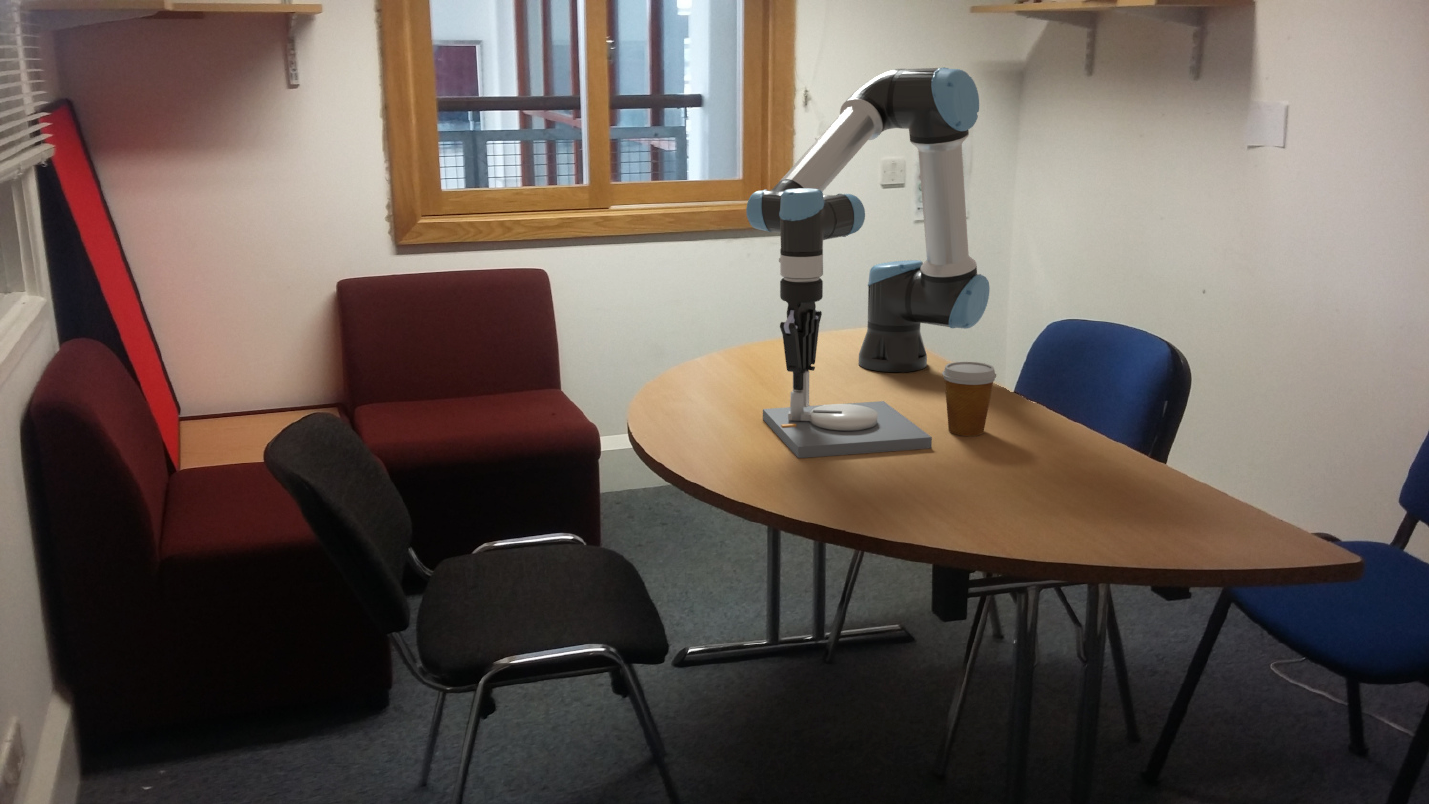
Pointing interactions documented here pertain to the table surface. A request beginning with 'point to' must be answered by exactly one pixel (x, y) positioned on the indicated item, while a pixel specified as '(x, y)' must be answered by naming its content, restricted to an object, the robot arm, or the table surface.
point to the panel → (848, 433)
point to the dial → (832, 414)
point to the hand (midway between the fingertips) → (800, 405)
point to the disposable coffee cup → (968, 396)
